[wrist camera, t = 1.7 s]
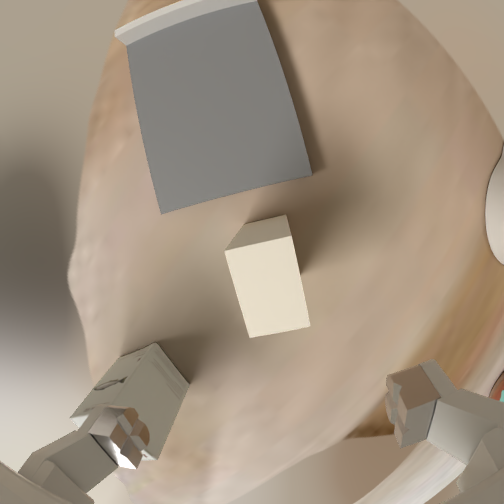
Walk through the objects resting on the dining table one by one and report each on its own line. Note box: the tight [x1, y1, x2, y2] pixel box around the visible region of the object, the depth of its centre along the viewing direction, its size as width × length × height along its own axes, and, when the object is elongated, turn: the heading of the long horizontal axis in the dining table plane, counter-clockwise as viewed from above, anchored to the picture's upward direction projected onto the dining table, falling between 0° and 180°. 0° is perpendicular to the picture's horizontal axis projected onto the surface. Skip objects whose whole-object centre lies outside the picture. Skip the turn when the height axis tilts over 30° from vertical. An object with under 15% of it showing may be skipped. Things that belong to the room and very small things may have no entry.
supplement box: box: [70, 343, 190, 460], centre depth 26 cm, size 7×7×13 cm
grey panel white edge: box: [115, 0, 312, 214], centre depth 21 cm, size 14×20×4 cm
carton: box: [225, 215, 310, 338], centre depth 22 cm, size 6×4×10 cm
